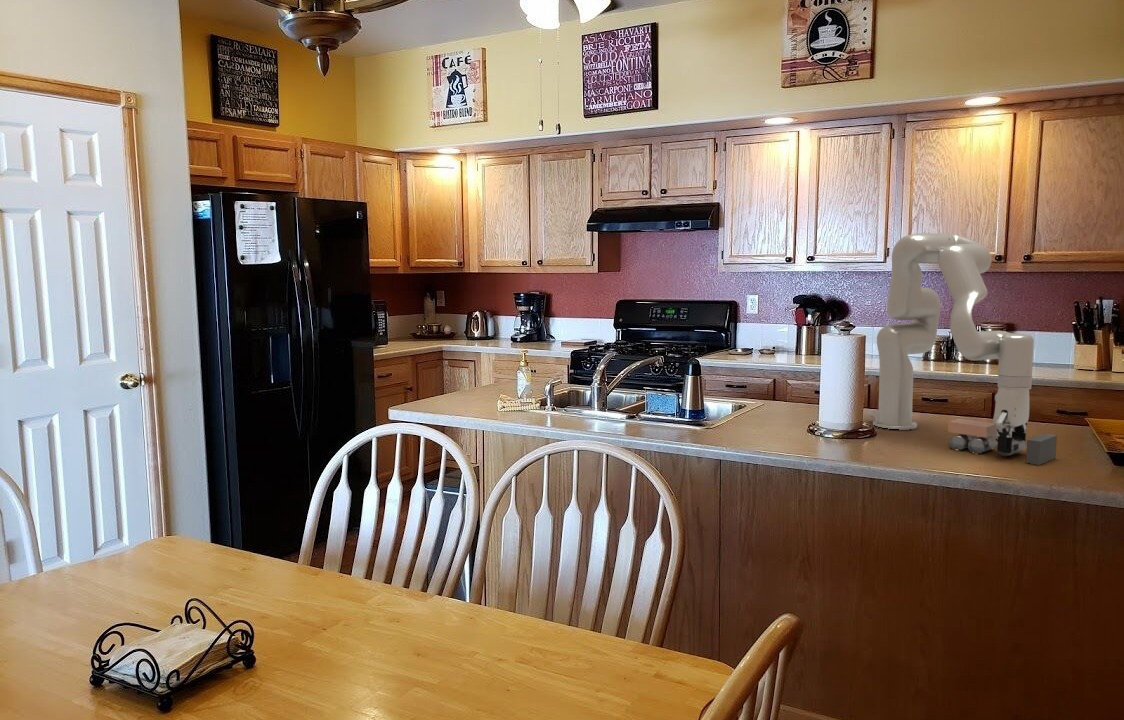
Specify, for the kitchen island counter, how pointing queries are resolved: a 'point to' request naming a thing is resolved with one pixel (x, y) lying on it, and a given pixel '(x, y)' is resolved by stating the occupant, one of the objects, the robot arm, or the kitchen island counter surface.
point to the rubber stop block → (1041, 449)
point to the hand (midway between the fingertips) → (1011, 449)
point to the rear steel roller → (960, 441)
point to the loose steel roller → (1015, 446)
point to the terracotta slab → (972, 427)
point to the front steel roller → (981, 444)
